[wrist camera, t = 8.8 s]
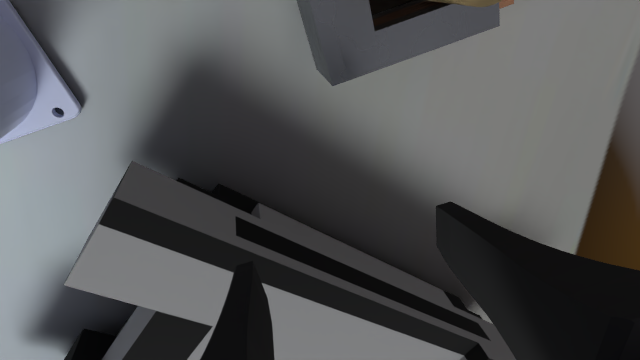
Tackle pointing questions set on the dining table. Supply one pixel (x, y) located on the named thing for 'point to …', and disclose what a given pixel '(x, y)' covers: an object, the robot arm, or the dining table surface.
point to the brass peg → (470, 2)
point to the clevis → (385, 32)
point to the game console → (276, 277)
